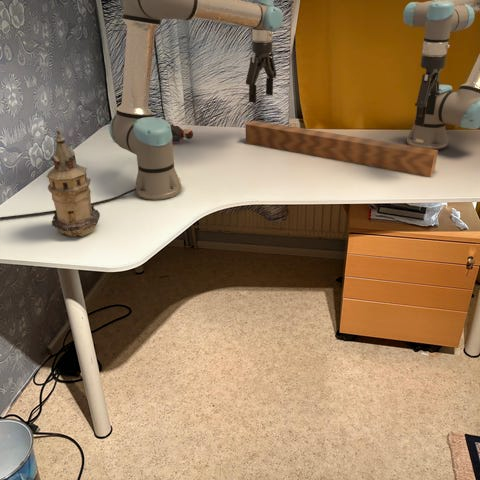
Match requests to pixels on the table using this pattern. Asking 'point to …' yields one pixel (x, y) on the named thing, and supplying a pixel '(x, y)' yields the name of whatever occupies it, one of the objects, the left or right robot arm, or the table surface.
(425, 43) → the right robot arm
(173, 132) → the toy
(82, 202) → the miniature building
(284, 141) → the beam
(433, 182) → the table surface
